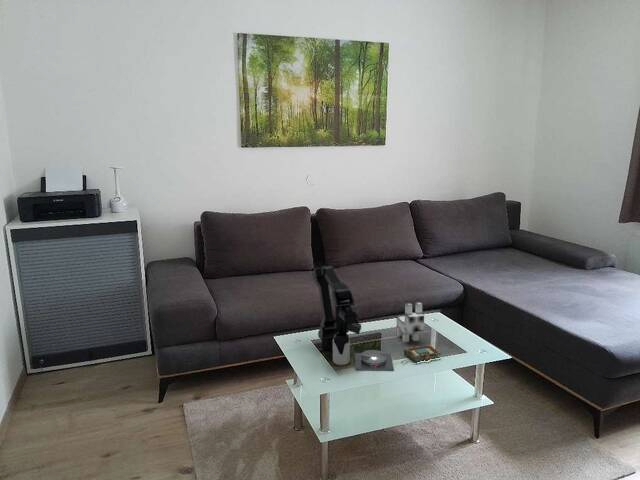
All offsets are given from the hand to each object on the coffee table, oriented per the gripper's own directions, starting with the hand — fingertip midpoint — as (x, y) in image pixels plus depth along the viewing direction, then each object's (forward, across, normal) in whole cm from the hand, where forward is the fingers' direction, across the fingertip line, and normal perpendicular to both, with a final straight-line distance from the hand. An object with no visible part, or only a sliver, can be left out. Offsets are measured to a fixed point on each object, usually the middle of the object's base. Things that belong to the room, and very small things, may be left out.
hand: (341, 350), depth 211 cm
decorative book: (+6, +4, -34) cm, 35 cm away
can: (+6, 0, 0) cm, 6 cm away
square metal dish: (+6, 0, -14) cm, 15 cm away
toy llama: (+6, +26, -32) cm, 42 cm away
